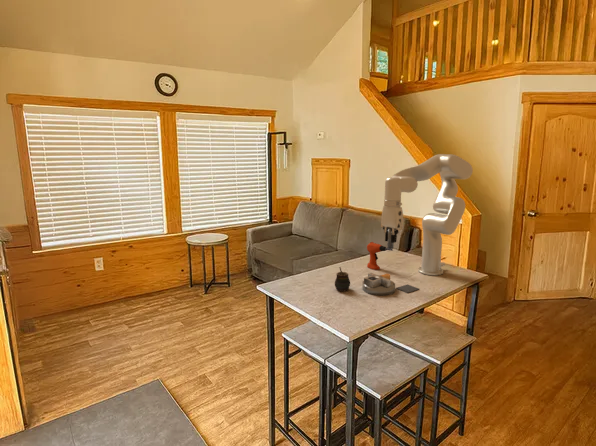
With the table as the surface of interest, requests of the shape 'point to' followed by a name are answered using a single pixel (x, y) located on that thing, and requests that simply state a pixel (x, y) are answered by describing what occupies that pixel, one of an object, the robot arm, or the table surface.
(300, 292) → the table surface
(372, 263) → the toy drill
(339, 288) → the mate gourd
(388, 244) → the grey pestle
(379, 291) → the chuck base
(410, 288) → the mat
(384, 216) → the robot arm
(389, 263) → the table surface
